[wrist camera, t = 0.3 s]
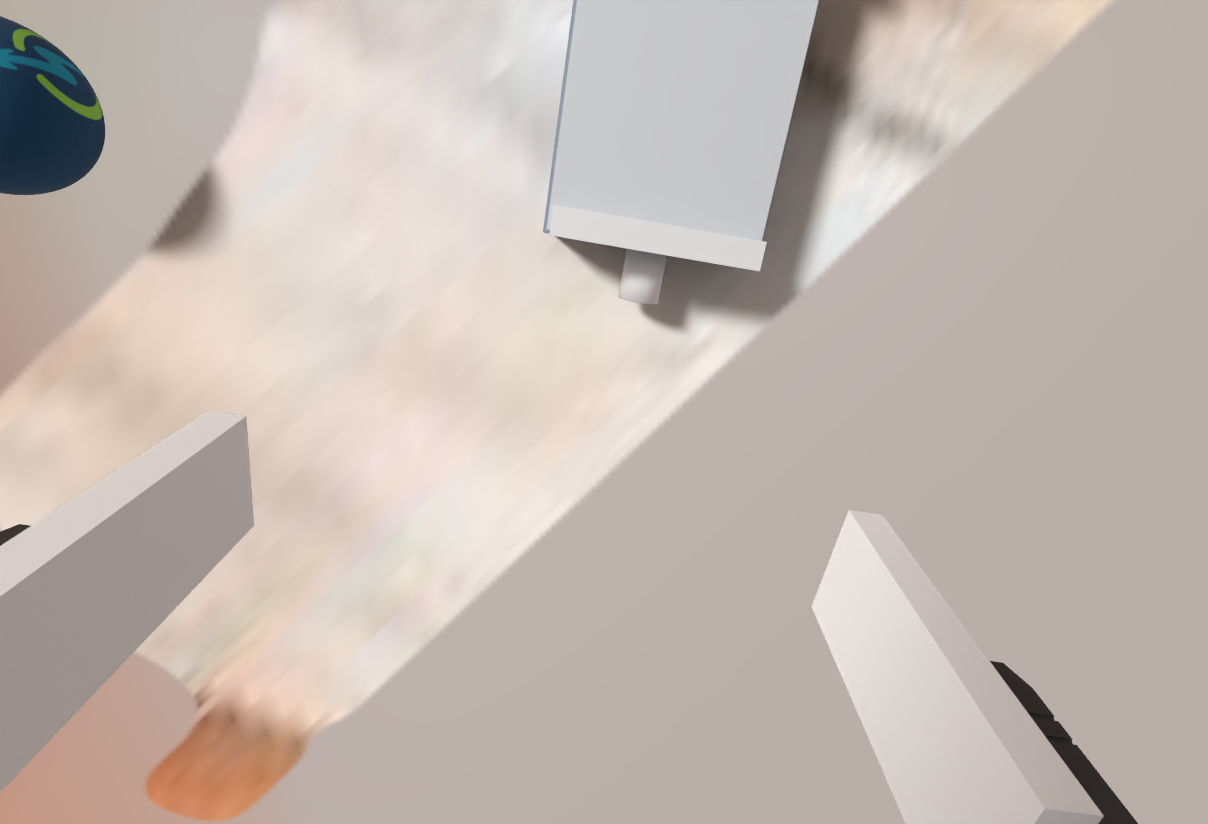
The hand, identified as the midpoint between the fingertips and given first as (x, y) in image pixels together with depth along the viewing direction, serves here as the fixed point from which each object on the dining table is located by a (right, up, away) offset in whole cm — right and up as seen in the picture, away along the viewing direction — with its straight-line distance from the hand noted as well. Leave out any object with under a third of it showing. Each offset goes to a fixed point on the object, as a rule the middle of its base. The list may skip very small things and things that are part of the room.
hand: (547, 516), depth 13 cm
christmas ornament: (-30, +19, +21) cm, 41 cm away
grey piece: (+5, +20, +22) cm, 30 cm away
